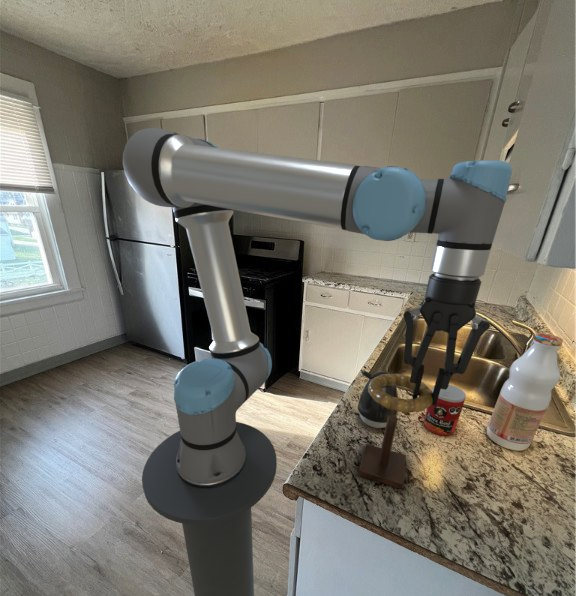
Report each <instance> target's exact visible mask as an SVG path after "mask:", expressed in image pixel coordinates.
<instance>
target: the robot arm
mask: <svg viewBox="0 0 576 596" xmlns="http://www.w3.org/2000/svg"><path fill="white" fill-rule="evenodd" d="M122 168H123V171H124V175H125V177H126V179H127V181H128V184H129V185H130V187H131V188H132V189H133V191H134V192H135V193H136V194H137V195H138V196H139V197H140V198H141V199H143V200H144V201H146V202H147V203H149V204H152V205H155V206H159V207H163V208H172V211H173V214H174V219H175V222H176V223H177V224H179V225H180V226H181V227H183V228H184V229H185V230H186V234H187V239H188V242H189V247H190V250H191V254H192V257H193V262H194V265H195V269H196V274H197V277H198V282H199V286H200V289H201V294H202V297H203V301H204V305H205V309H206V314H207V317H208V321H209V325H210V329H211V333H212V337H213V340H212V342H211V343H210V345H209V347H208V348H209V352H210V357H211V358H203V359H201V360H200V361H199V360H195V361H193V362H191V363H189V364H186V366H184V367H182V368H181V369H180V371H179V372H178V373H177V374H176V376H175V378H174V381H173V391H174V392H173V399H174V400H173V401H174V404H175V409H176V414H177V420H178V427H179V431H180V433H181V442H180V446H179V450H178V454H177V458H176V467H177V473H178V475H179V477H180V478H181V480H182V481H184V482H185V483H186V484H188V485H190V486H193V487H197V488H213V487H218V486H221V485H224V484H226V483H228V482H230V481H231V480H233V479H234V478H236V477H237V476H238V475H239V474H240V472H241V471H242V470H243V468H244V466H245V462H246V451H245V447H244V444H243V442H242V441H241V440H240V437H239V435H238V432H237V430H236V422H237V411H238V410H239V409H240V408H241V407H242V406H243V405H244V404H245V403H246V402H247V401H248V400H249V399H250V398H251V397H252V396H253V395H254V394H255V393H256V391H258V390H259V389H260V388H262V386H263V385H264V384H265V383H266V382H267V379H268V378H269V377H270V375H271V373H272V368H273V362H272V356H271V353H270V352H269V350H268V349H267V348H266V347H264V344H263V343H261V342H260V337H259V336H258V335H256V334H255V333H253V332H252V331H251V327H250V323H249V321H250V320H249V317H248V312H247V308H246V304H245V303H246V302H245V297H244V293H243V288H242V283H241V278H240V273H239V268H238V264H237V259H236V253H235V249H234V244H233V238H232V235H231V230H230V225H229V223H230V220H231V218H232V217H233V215H234V211H238V212H244V213H248V214H249V213H250V214H256V215H260V216H266V217H271V218H277V219H281V220H282V219H283V220H286V221H287V220H288V221H291V222H299V223H304V224H308V225H309V224H310V225H315V226H320V227H325V228H330V229H335V230H341V231H347V232H351V233H356V234H361V235H365V236H367V237H368V238H370V239H372V240H374V241H375V240H376V241H382V242H392V241H397V240H399V239H401V238H403V237H405V236H407V235H408V234H409V233H412V234H413V233H414V234H415V233H416V234H429V235H433V234H436V235H437V240H436V245H435V249H434V254H433V258H432V263H431V267H430V270H431V271H432V272H433V273H431V274H430V275H429V277H428V281H427V286H426V290H425V295H424V299H423V300H422V301H421V303H420V304H419V306H416V307H413V308H411V307H406V308H405V309H404V311H403V318H404V322H405V324H406V326H405V327H406V328H405V339H404V351H403V352H404V353H403V363H404V364H406V365H408V366H411V367H412V368H411V371H410V382H411V383H415V387H414V391H412V398H411V399H416V398H417V397H419V396H418V393H419V389H420V385H421V382H423V377H424V371H425V365H424V364H423V362H424V361H425V360H424V359H425V357H426V354H427V353H428V350H429V348H430V345H431V342H432V340H433V339H434V336H435V334H436V332H444V333H447V336H446V346H445V347H446V348H445V356H444V365H443V366H444V367H443V368H442V367H439V368H438V371H437V375H436V379H435V383H434V385H433V386H434V390H433V402H432V405H434V406H436V404H437V400H438V397H439V393H440V389H445V390H446V389H447V388H448V385H450V382H451V378H452V377H453V375H455V374H458V375H463V374H465V373H466V370H467V368H468V366H469V364H470V362H471V360H472V357H473V355H474V353H475V350H476V349H477V346H478V344H479V341H480V340H481V338H482V336H483V335H484V334H485V333H486V331H488V330H489V328H490V327H491V324H490V322H489V319H487V317H481V316H480V315H478V314H477V311H476V303H477V299H478V295H479V292H480V289H481V286H482V281H481V279H480V278H481V277H482V276H484V275H485V272H486V268H487V265H488V261H489V257H490V253H491V249H492V247H493V243H494V240H495V237H496V233H497V230H498V227H499V223H500V220H501V217H502V214H503V210H504V207H505V203H506V202H507V197H508V191H509V186H510V182H511V178H512V173H513V168H512V166H511V164H510V163H508V162H507V161H503V160H495V159H494V160H493V159H492V160H491V159H490V160H488V159H487V160H486V159H483V160H482V159H481V160H467V161H462V162H461V161H460V162H458V163H456V164H455V165H454V166H453V168H452V171H451V173H450V175H449V177H444V178H420V177H419V176H418V175H417V173H415V172H412V171H411V169H409V168H405V167H401V166H395V165H388V166H384V167H377V166H370V165H369V166H368V165H358V164H354V163H353V164H352V163H345V162H335V161H328V160H322V159H321V160H320V159H312V158H303V157H297V156H296V157H295V156H287V155H281V154H280V155H279V154H272V153H264V152H254V151H247V150H238V149H231V148H223V147H222V148H221V147H219V146H217V145H215V144H213V143H212V142H210V141H209V140H205V139H203V138H195V137H191V136H187V135H186V134H180V133H177V132H175V131H171V130H169V129H168V130H167V129H164V128H160V127H146V128H142V129H139V130H137V131H136V132H135V133H133V134H132V136H130V137H129V139H128V140H127V142H126V143H125V145H124V150H123V152H122ZM420 314H421V317H422V319H423V321H424V322H425V324H426V329H425V331H424V334H423V336H422V339H421V341H420V343H419V346H418V349H417V351H416V354H415V356H414V355H412V354H413V352H412V351H413V342H414V332H415V322H416V321H418V318H419V315H420ZM471 321H472V322H471ZM470 322H471V324H470V326H471V330H470V331H469V334H468V336H467V338H466V341H465V343H464V345H463V348H462V350H461V352H460V355H459V356H458V359H457V362H456V363H455V355H456V345H457V339H458V331H460V330H461V329H462V328H463V327H465V326H466V325H468V323H470Z"/></svg>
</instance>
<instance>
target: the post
mask: <svg viewBox="0 0 576 596" xmlns="http://www.w3.org/2000/svg"><path fill="white" fill-rule="evenodd" d="M398 421H399V418H398V416H397V417H395V416H392V415H390V416H388V418H387V423H386V427H384V428H385V430H384V433H383V437H382V438H383V439H382V443H381V447H379V446H375V445H373V444H368V443H366V444H365V446H364V451H363V455H362V458H361V462H360V466H359V469H358V476H359V477H362V478H365V479H368V480H371V481H373V482H374V481H375V482H377V483H378V482H379V483H381V484H384V485H387V486H390V487H393V488H397V489H400V490H403V486H404V482H405V471H406V461H407V455H406V454H404V453H400V452H398V451H397V452H396V451H393V450H392V448H393V443H394V440H395V439H394V438H395V434H396V431H397V426H398Z"/></svg>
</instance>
